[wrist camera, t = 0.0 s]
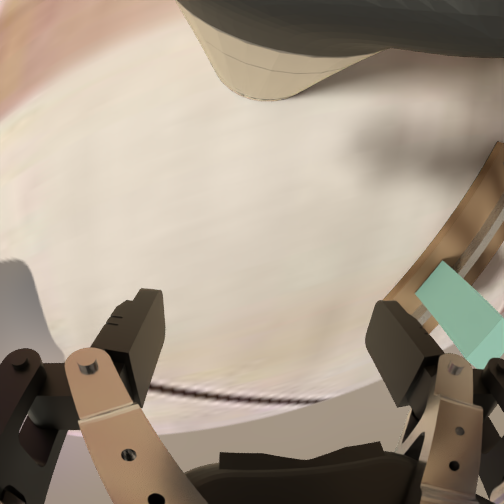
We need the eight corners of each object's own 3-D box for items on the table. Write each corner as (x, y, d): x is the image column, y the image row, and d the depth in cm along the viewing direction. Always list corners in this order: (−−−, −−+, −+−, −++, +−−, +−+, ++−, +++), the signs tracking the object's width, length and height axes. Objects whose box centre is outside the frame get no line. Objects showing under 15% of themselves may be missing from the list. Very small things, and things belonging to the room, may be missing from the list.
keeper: (438, 314, 31) (483, 374, 21) (414, 293, 29) (465, 359, 19) (464, 285, 29) (515, 338, 19) (442, 260, 28) (502, 317, 17)
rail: (415, 339, 33) (445, 387, 25) (386, 319, 31) (418, 373, 23) (526, 189, 24) (573, 212, 16) (508, 152, 22) (563, 169, 14)
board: (416, 337, 34) (420, 342, 33) (375, 308, 32) (378, 314, 31) (524, 193, 26) (529, 196, 25) (497, 141, 23) (503, 143, 22)
